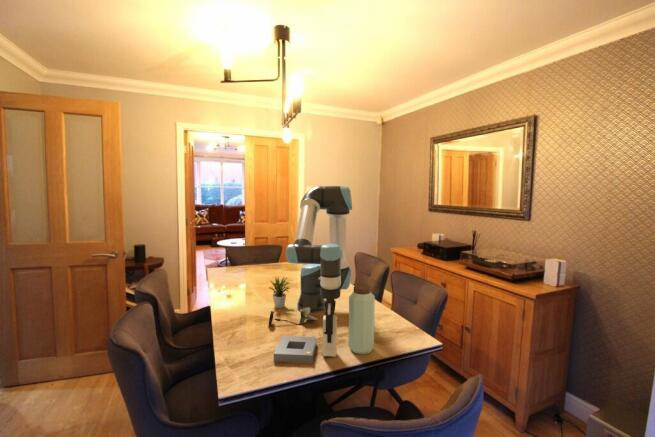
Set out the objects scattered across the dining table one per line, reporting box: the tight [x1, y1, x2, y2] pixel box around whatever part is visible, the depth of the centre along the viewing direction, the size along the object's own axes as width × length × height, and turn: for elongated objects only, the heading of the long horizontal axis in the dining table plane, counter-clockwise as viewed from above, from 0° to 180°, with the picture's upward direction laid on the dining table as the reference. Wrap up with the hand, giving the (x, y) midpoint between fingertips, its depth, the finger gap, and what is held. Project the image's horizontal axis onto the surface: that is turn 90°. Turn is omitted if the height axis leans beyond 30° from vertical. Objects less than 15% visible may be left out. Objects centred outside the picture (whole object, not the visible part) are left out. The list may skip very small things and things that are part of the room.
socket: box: [273, 335, 317, 364], centre depth 120 cm, size 14×14×3 cm
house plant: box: [267, 276, 293, 309], centre depth 166 cm, size 14×14×16 cm
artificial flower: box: [268, 307, 318, 326], centre depth 147 cm, size 9×22×10 cm, turn 95°
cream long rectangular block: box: [322, 314, 338, 357], centre depth 118 cm, size 4×5×16 cm
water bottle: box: [348, 284, 376, 355], centre depth 122 cm, size 10×10×25 cm
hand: (329, 346), depth 118 cm, fingers closed on cream long rectangular block, 4 cm apart
